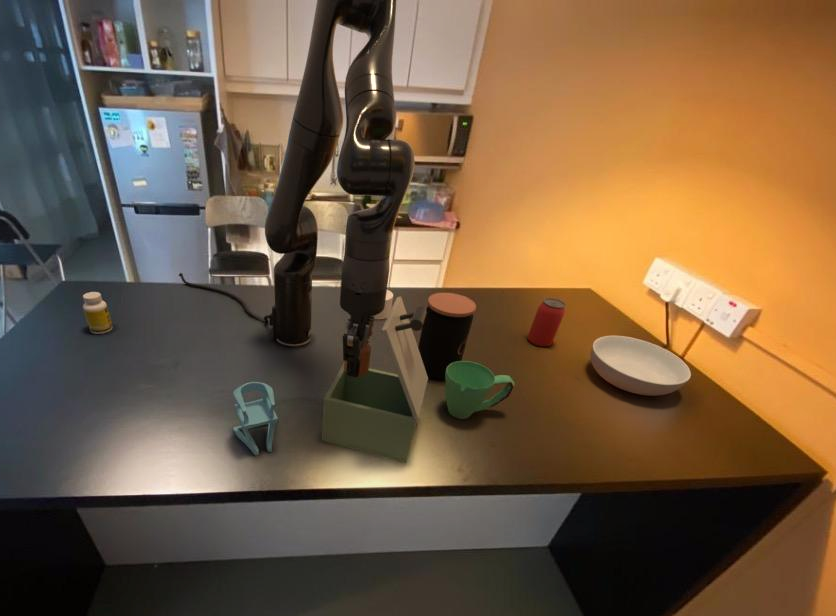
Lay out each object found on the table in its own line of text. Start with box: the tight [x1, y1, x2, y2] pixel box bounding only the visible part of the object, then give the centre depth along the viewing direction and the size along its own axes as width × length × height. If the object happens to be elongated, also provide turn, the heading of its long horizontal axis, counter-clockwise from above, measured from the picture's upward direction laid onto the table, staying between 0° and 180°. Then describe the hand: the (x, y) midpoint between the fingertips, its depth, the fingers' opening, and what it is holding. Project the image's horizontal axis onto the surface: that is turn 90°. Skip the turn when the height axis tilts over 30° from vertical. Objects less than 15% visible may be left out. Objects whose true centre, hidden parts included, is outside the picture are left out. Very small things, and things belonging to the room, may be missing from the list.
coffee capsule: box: [343, 341, 372, 376], centre depth 77 cm, size 5×5×5 cm
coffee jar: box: [417, 292, 477, 381], centre depth 100 cm, size 11×11×18 cm
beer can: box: [527, 297, 566, 348], centre depth 116 cm, size 7×7×12 cm
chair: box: [233, 381, 279, 457], centre depth 78 cm, size 8×8×12 cm
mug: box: [444, 360, 515, 420], centre depth 90 cm, size 15×10×10 cm
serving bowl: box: [590, 335, 692, 397], centre depth 104 cm, size 21×21×7 cm
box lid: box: [381, 296, 429, 420], centre depth 73 cm, size 18×13×5 cm
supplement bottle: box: [82, 291, 114, 335], centre depth 109 cm, size 5×5×10 cm
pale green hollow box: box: [321, 362, 418, 463], centre depth 83 cm, size 17×13×10 cm
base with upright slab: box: [374, 289, 394, 320], centre depth 125 cm, size 9×9×12 cm
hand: (356, 367), depth 79 cm, fingers closed on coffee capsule, 4 cm apart
